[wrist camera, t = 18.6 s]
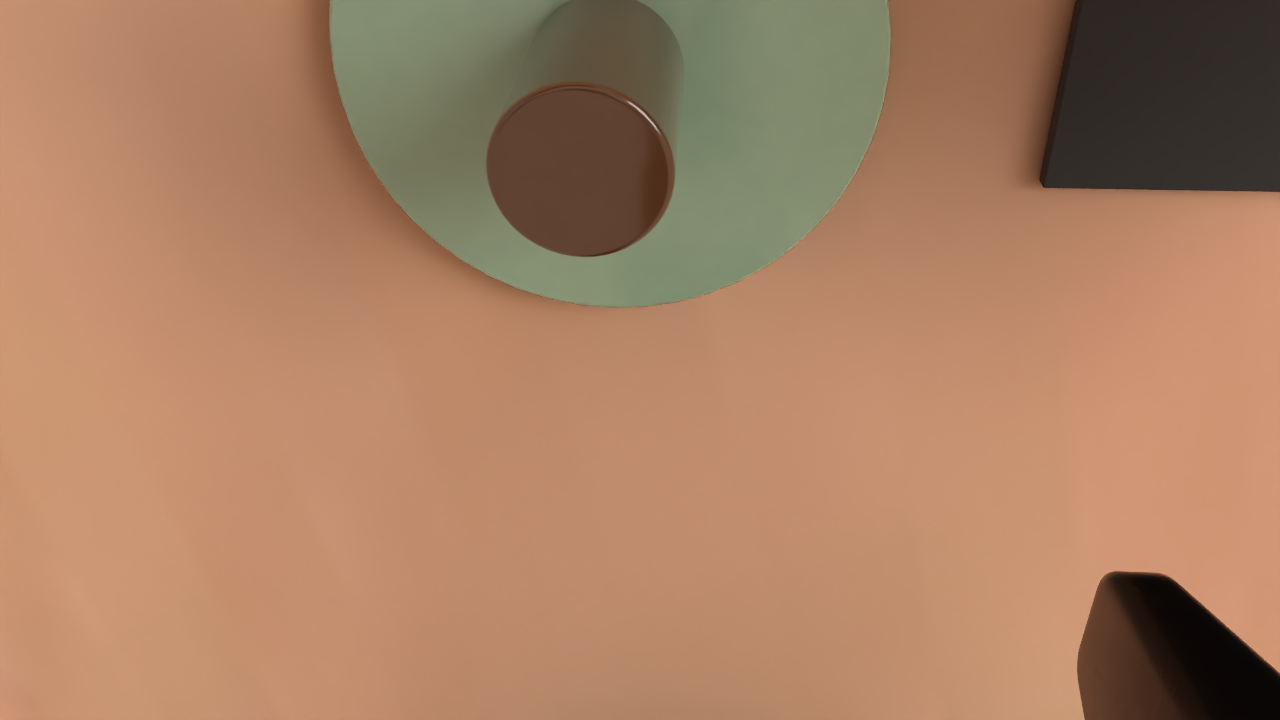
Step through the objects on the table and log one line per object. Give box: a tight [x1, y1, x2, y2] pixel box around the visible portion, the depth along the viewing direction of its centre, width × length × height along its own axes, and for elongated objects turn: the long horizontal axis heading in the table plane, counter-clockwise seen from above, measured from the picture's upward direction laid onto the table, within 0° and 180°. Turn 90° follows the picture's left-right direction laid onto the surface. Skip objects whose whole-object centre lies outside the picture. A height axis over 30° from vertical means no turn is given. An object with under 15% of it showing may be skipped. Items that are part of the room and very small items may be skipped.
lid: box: [329, 0, 891, 308], centre depth 16 cm, size 9×9×4 cm
